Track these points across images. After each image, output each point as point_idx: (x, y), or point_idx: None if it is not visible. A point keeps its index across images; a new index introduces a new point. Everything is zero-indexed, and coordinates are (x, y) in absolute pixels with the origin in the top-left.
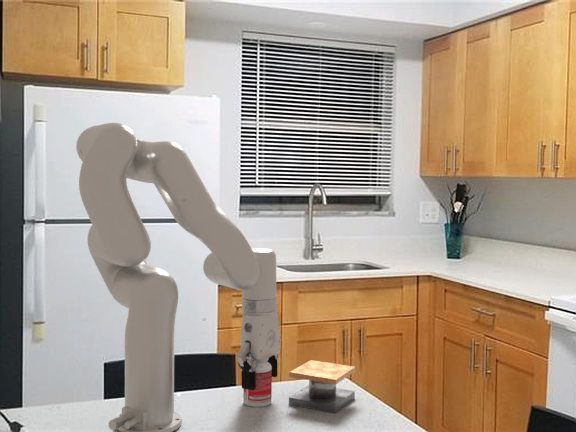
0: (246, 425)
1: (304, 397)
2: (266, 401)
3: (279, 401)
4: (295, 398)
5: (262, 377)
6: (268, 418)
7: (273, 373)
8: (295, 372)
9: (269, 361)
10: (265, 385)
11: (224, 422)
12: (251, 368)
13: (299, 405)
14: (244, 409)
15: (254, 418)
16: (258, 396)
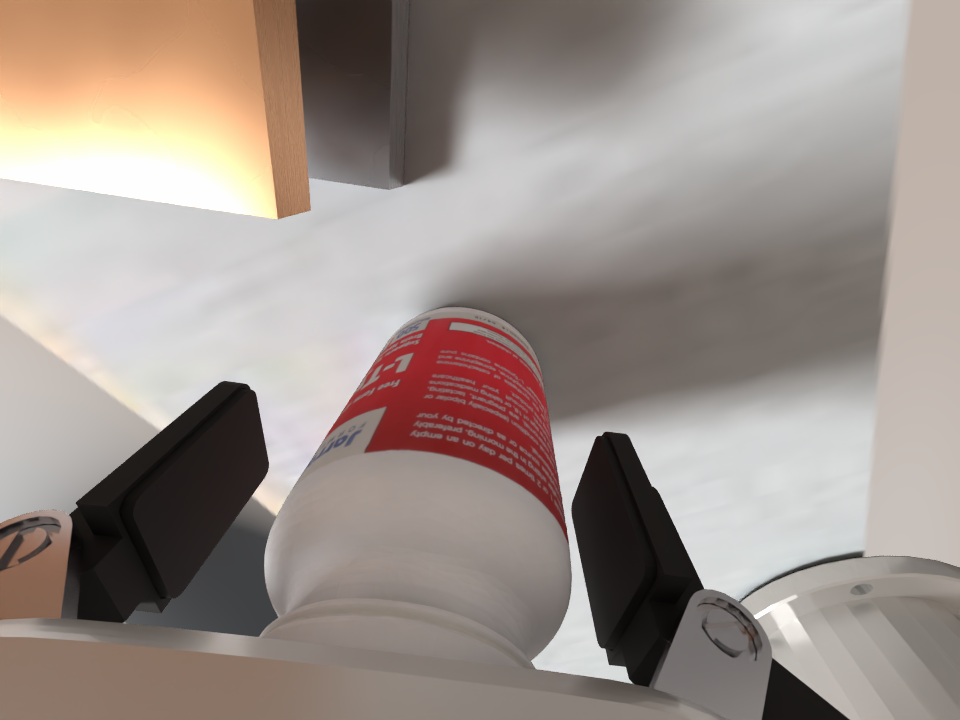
0: (847, 313)
1: (325, 37)
2: (500, 325)
3: (376, 270)
4: (389, 120)
5: (537, 459)
6: (708, 227)
7: (240, 419)
8: (236, 101)
9: (168, 542)
10: (509, 389)
11: (796, 428)
12: (766, 654)
13: (405, 81)
14: (581, 404)
15: (718, 310)
16: (539, 384)
